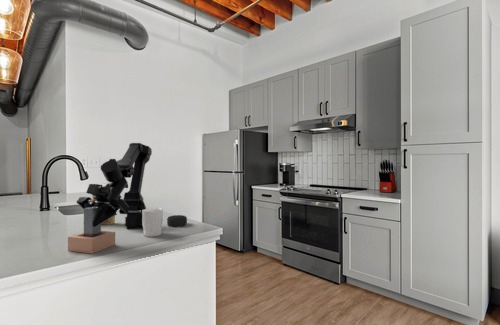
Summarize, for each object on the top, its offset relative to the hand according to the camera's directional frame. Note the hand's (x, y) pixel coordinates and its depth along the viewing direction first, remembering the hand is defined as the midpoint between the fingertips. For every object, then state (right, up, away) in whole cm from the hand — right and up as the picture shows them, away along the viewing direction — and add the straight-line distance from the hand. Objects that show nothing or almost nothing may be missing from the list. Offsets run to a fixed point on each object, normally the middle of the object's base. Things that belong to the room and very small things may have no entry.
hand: (89, 225), depth 95 cm
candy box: (-15, -8, +38) cm, 41 cm away
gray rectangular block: (0, -7, +1) cm, 7 cm away
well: (0, -8, +1) cm, 8 cm away
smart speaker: (+20, -8, +36) cm, 42 cm away
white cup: (+15, -8, +18) cm, 25 cm away
